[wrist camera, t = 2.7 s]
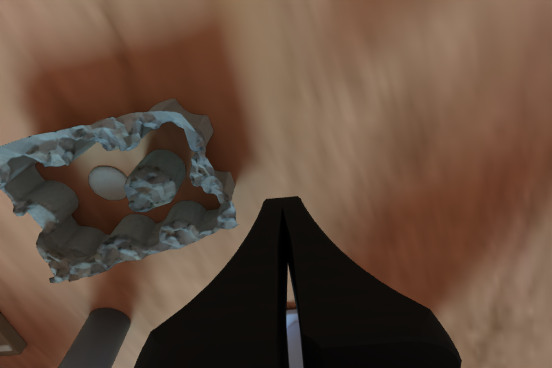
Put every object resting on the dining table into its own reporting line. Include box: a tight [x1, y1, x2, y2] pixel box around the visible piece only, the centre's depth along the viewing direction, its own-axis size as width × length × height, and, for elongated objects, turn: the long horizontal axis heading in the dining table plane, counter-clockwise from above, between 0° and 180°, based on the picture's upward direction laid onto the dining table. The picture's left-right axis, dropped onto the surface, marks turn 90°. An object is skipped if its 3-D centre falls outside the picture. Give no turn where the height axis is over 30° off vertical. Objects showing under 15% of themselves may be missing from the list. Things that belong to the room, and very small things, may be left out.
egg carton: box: [0, 99, 239, 283], centre depth 15 cm, size 11×8×4 cm
